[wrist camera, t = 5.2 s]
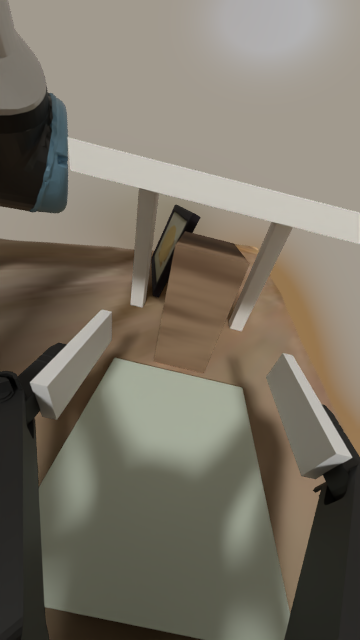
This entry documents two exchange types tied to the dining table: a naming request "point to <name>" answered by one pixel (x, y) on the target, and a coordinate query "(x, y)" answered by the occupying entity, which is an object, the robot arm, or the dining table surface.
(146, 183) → the small white table
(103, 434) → the mat
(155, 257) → the picture frame
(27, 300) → the dining table surface
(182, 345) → the walnut block
